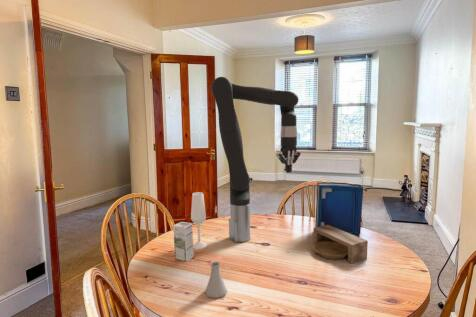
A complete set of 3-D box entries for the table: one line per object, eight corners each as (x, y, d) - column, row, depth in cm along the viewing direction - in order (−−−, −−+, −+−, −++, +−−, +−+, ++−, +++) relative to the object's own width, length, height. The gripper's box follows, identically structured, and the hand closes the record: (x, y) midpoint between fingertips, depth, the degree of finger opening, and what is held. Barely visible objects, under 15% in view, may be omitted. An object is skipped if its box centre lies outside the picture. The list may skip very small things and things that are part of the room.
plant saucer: (344, 265, 120) (344, 258, 119) (308, 256, 128) (308, 250, 128) (353, 251, 132) (354, 245, 132) (320, 244, 140) (320, 238, 140)
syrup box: (194, 256, 129) (193, 222, 127) (186, 262, 123) (184, 227, 122) (182, 254, 131) (181, 220, 129) (174, 259, 126) (172, 225, 124)
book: (359, 231, 155) (360, 182, 152) (363, 236, 148) (365, 185, 145) (314, 230, 157) (315, 181, 154) (317, 235, 150) (317, 184, 147)
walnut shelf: (351, 263, 120) (352, 244, 119) (313, 243, 140) (313, 227, 139) (366, 258, 124) (367, 240, 123) (327, 240, 144) (327, 224, 143)
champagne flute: (189, 247, 138) (187, 194, 135) (196, 241, 144) (194, 191, 141) (202, 249, 135) (200, 195, 132) (209, 243, 142) (208, 192, 139)
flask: (205, 287, 105) (204, 259, 103) (226, 286, 105) (226, 258, 104) (204, 299, 97) (203, 269, 96) (227, 298, 98) (227, 268, 97)
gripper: (295, 135, 151) (294, 170, 153) (272, 136, 145) (272, 172, 147) (305, 135, 144) (304, 172, 146) (281, 136, 138) (281, 175, 140)
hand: (288, 172), depth 147 cm, fingers closed
